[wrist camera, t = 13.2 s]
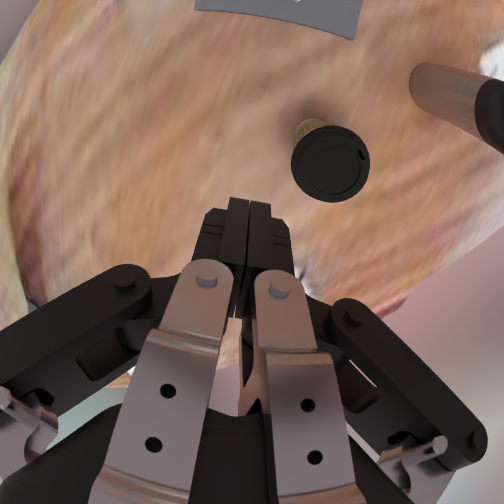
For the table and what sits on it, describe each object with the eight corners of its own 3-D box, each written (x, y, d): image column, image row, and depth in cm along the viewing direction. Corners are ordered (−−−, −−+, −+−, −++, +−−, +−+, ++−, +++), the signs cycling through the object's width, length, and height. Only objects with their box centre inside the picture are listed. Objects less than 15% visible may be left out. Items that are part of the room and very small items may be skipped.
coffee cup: (270, 128, 41) (275, 160, 29) (321, 96, 36) (349, 113, 25) (304, 173, 45) (320, 220, 34) (352, 144, 41) (386, 182, 30)
